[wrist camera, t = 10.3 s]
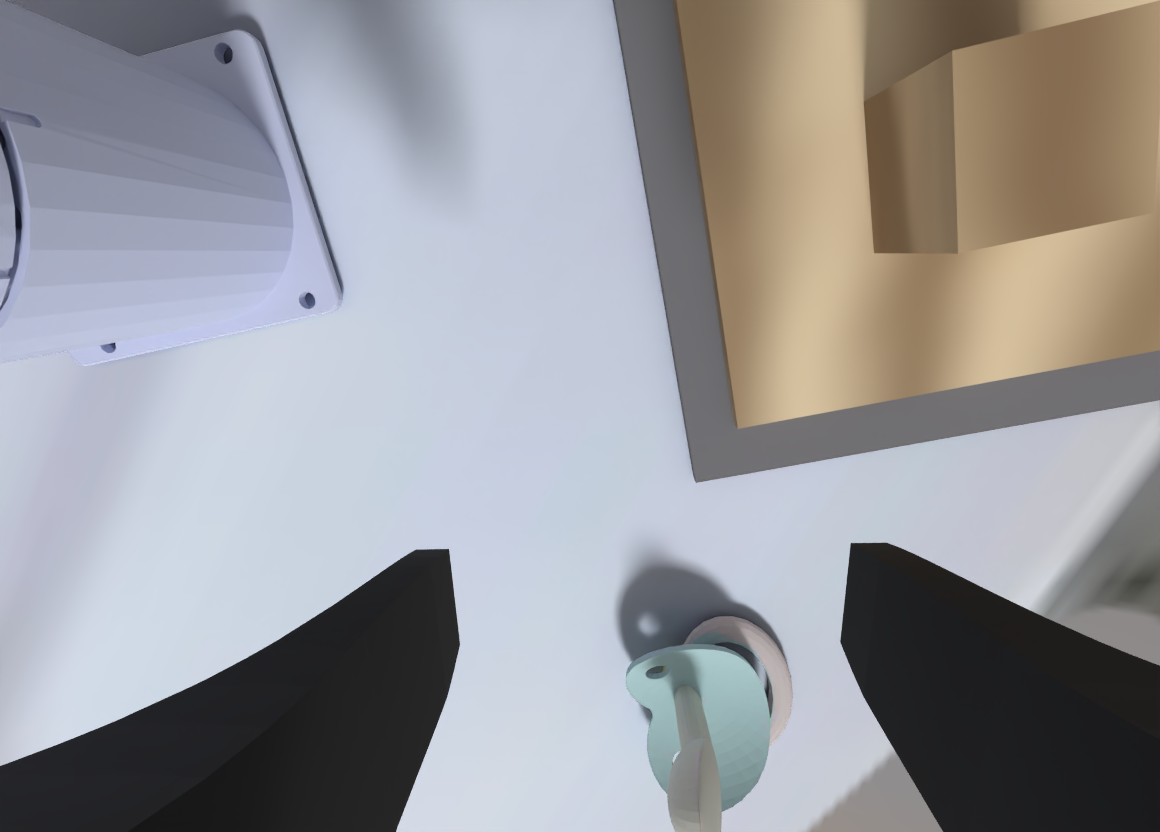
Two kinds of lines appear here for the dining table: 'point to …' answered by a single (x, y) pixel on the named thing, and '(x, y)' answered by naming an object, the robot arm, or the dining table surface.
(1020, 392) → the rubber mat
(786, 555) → the dining table surface
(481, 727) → the dining table surface
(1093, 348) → the oak lid
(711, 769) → the pacifier
